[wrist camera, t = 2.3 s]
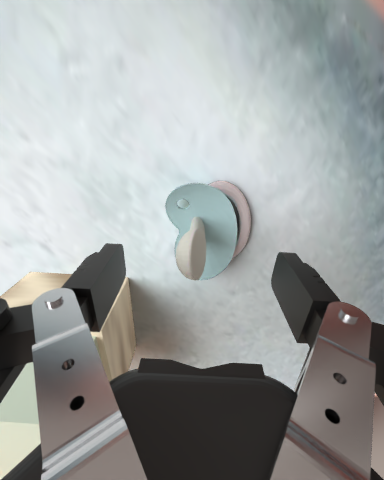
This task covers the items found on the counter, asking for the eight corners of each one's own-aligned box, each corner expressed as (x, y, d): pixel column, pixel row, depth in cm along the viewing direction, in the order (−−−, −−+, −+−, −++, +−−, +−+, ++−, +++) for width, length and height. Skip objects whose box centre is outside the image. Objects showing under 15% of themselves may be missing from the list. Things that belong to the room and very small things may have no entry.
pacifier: (247, 168, 15) (163, 180, 16) (277, 190, 10) (146, 208, 10) (250, 258, 19) (180, 266, 19) (274, 312, 13) (174, 322, 13)
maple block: (128, 276, 20) (101, 330, 15) (136, 344, 24) (117, 405, 19) (31, 271, 20) (-32, 322, 15) (55, 338, 24) (13, 398, 19)
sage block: (96, 336, 15) (50, 425, 10) (110, 402, 18) (81, 489, 14) (-20, 328, 15) (-114, 412, 11) (16, 395, 19) (-42, 480, 14)
